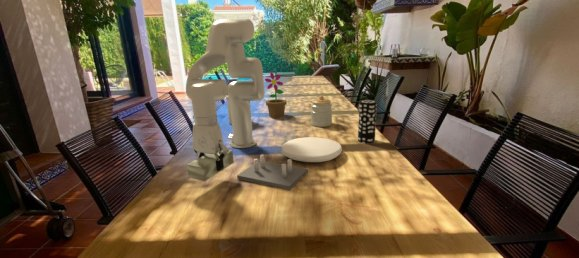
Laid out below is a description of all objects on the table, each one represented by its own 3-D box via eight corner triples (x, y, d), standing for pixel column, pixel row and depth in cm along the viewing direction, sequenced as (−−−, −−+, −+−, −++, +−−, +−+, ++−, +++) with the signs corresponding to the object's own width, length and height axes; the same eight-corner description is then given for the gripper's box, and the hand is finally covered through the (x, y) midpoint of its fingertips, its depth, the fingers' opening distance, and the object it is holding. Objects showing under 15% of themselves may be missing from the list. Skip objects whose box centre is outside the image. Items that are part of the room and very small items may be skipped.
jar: (317, 120, 193) (317, 93, 188) (335, 123, 185) (336, 94, 181) (306, 125, 183) (306, 96, 178) (325, 128, 175) (325, 98, 170)
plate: (288, 134, 151) (343, 136, 146) (288, 147, 152) (342, 149, 147) (274, 147, 124) (340, 151, 119) (274, 163, 125) (340, 167, 120)
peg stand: (237, 178, 114) (236, 162, 112) (260, 163, 128) (259, 149, 126) (289, 190, 104) (289, 172, 103) (308, 172, 118) (307, 156, 116)
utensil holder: (232, 119, 202) (230, 93, 197) (254, 119, 200) (252, 93, 195) (225, 125, 188) (222, 97, 183) (248, 125, 186) (246, 97, 181)
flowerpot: (264, 118, 202) (261, 72, 194) (268, 113, 216) (266, 70, 207) (285, 118, 200) (283, 72, 191) (288, 113, 213) (287, 70, 205)
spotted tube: (371, 144, 147) (374, 103, 141) (355, 141, 151) (356, 102, 145) (377, 139, 153) (379, 100, 148) (361, 137, 158) (362, 99, 152)
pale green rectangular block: (204, 181, 101) (202, 167, 99) (188, 177, 104) (186, 164, 102) (233, 162, 114) (232, 150, 112) (219, 159, 117) (217, 147, 116)
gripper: (178, 120, 103) (185, 167, 109) (219, 125, 96) (224, 176, 101) (194, 114, 110) (200, 159, 115) (233, 119, 102) (237, 167, 108)
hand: (211, 167), depth 108 cm, fingers closed on pale green rectangular block, 7 cm apart
